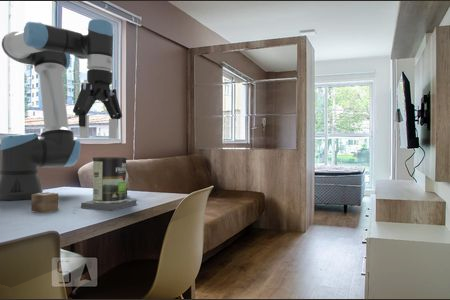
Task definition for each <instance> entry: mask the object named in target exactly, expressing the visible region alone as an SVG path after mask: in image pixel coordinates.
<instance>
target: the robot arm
mask: <svg viewBox="0 0 450 300" xmlns="http://www.w3.org/2000/svg"><path fill="white" fill-rule="evenodd" d="M23 27H24V28H23V31H12V32H9V33H7V34H5V35H4V36H3V38H2V41H1V48H2V50H3V52H4V53H5V55H6V56H8V58H10V59H12V60H13V61H16V63H17V62H18V63H20V64H25V65H31V66H34V71H35V72H36V74H38V75H39V83H40V93H41V94H40V95H41V103H42V105H41V106H42V115H43V124H44V125H43V126H44V129H43V130H42V132H41V133H40V136H39V135H38V132H32V133H20V134H10V135H4V136H3V137H2V138H1V140H0V201H19V200H32V195H33V194H37V193H44V189H43V188H42V185H41V181H40V178H39V175H38V172H39V171H38V169H39V168H40V169H41V168H65V167H73V166H75V165H76V163H77V162H78V160H79V158H80V153H81V141H80V139H89V138H90V115H88V114H89V112H90V111H91V109H92V108H93V106H94V104H95V102H96V101H99V102H101V103H102V104H103V105H104V107H105V110H106V112H107V114H108V115H109V119H108V139H110V140H111V139H113V140H114V139H115V140H117V138H118V125H119V124H118V120H121V119H122V118H123V115H122V111H121V110H122V109H121V106H120V103H119V100H118V95H117V89H116V88H111V87H110V86H111V85H112V84H113V73H112V71H113V55H114V54H113V51H114V47H113V44H114V32H113V31H114V29H113V24H112V22H110V21H108V20H106V19H103V18H102V19H101V18H92V19H89V20H88V22H87V27H86V30H87V31H85V32H80V31H76V30H72V29H71V30H70V29H68V28H62V27H57V26H54V25H50V24H46V23H42V22H36V21H31V20H30V21H27V22H26V23H25V25H24V26H23ZM71 55H72V56H74V57H76V58H77V59H81V60H86V68H87V71H86V72H87V73H86V81H87V82H82V83H81V85H80V92H79V93H78V97H77V99H76V101H75V104H74V106H73V109H72V113H73V114H75V116H78V126H79V138H78V137H76V136H74V131H73V130H71V129H70V128H69V120H68V112H67V101H66V93H65V85H64V84H65V83H64V76H63V75H64V74H65V73H66V72H67V70H68V69H69V68H70V64H71Z"/></svg>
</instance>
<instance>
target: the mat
mask: <svg viewBox="0 0 450 300" xmlns="http://www.w3.org/2000/svg"><path fill="white" fill-rule="evenodd" d="M135 205H137V199H132V198H131V199H130V198H126V201H125V202H120V203H110V204H101V203H94V202H93V199H92V200H89V201H83V202H80V208H81V209H94V210H103V211H104V210H105V211H117V210H121V209H124V208H127V207H128V208H129V207H131V206H135Z"/></svg>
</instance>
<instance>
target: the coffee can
mask: <svg viewBox="0 0 450 300" xmlns="http://www.w3.org/2000/svg"><path fill="white" fill-rule="evenodd" d="M127 159H128V158H127V157H126V156H95V157H94V156H93V157H92V162H93V163H92V164H93V165H92V171H93V172H92V175H93V176H92V180H93V181H92V200H93V202H94V203H101V204H110V203H120V202H125V201H126V199H127V196H126V188H127V184H126V171H127Z"/></svg>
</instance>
